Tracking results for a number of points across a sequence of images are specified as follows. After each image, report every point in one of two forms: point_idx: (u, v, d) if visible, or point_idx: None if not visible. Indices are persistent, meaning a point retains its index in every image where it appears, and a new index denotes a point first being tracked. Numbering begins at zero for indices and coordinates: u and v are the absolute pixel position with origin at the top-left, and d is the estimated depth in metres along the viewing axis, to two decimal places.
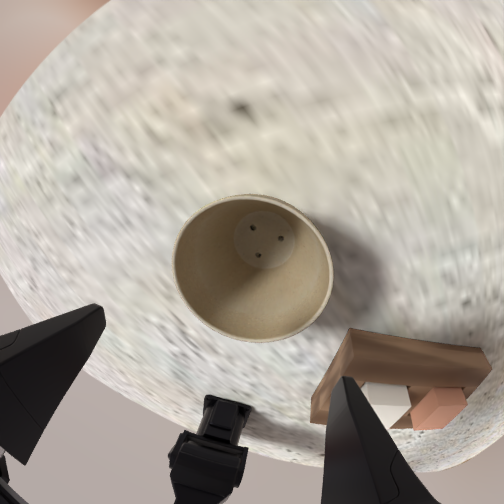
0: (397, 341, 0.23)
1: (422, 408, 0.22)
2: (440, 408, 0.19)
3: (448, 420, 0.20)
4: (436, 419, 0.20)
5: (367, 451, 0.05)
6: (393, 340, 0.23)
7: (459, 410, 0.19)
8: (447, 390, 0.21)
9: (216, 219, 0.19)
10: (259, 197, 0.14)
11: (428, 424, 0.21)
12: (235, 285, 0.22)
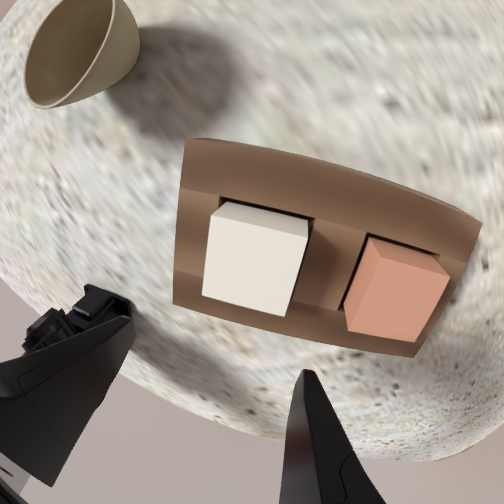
0: (281, 151, 0.17)
1: (358, 283, 0.16)
2: (387, 268, 0.13)
3: (420, 318, 0.14)
4: (390, 305, 0.14)
5: (316, 448, 0.05)
6: (275, 150, 0.17)
7: (436, 292, 0.13)
8: (401, 249, 0.15)
9: (72, 38, 0.13)
10: None
11: (376, 318, 0.14)
12: None
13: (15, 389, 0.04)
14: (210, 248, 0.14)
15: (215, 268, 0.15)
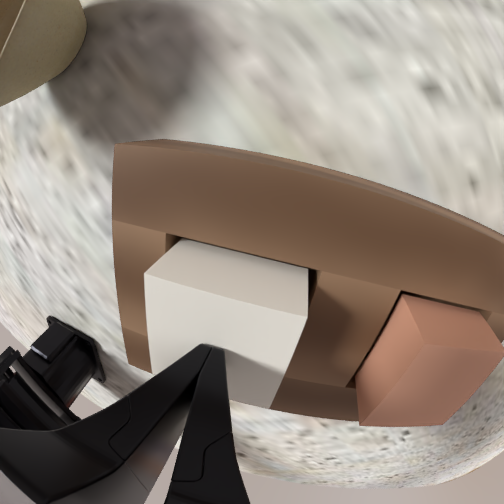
0: (268, 156, 0.11)
1: (380, 363, 0.09)
2: (431, 356, 0.07)
3: (457, 402, 0.08)
4: (423, 397, 0.08)
5: (189, 421, 0.05)
6: (259, 154, 0.11)
7: (485, 372, 0.07)
8: (446, 311, 0.09)
9: None
10: None
11: (401, 411, 0.08)
12: None
13: (111, 456, 0.04)
14: (151, 320, 0.09)
15: (163, 347, 0.09)
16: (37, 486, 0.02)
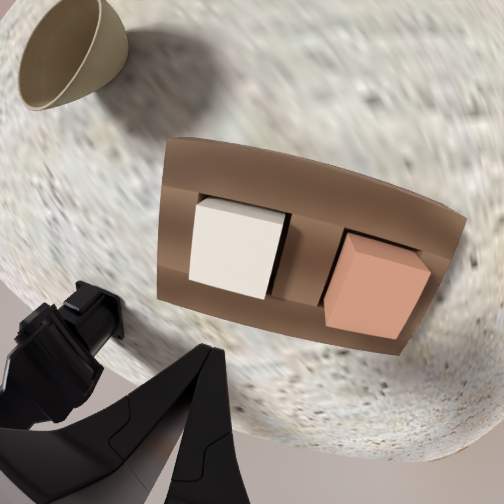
0: (261, 149, 0.17)
1: (336, 279, 0.16)
2: (363, 262, 0.13)
3: (400, 315, 0.14)
4: (368, 301, 0.14)
5: (189, 421, 0.05)
6: (255, 148, 0.18)
7: (417, 287, 0.13)
8: (381, 245, 0.15)
9: (64, 42, 0.13)
10: None
11: (354, 314, 0.15)
12: None
13: (111, 457, 0.04)
14: (195, 235, 0.16)
15: (200, 254, 0.16)
16: (37, 486, 0.02)
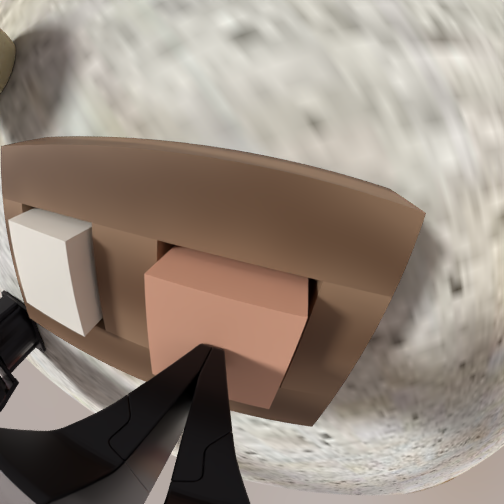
0: (94, 137, 0.11)
1: None
2: (161, 292, 0.08)
3: (263, 379, 0.09)
4: None
5: (189, 421, 0.05)
6: (90, 137, 0.11)
7: (282, 342, 0.08)
8: None
9: None
10: None
11: None
12: None
13: (111, 456, 0.04)
14: (15, 254, 0.10)
15: (23, 275, 0.10)
16: (37, 486, 0.02)
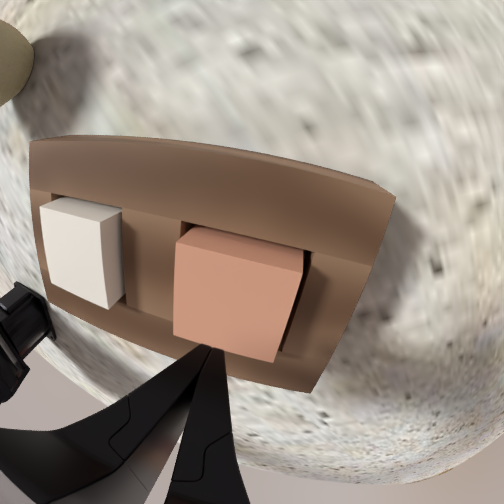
0: (118, 136, 0.14)
1: None
2: (189, 256, 0.10)
3: (268, 332, 0.11)
4: (213, 309, 0.11)
5: (189, 421, 0.05)
6: (115, 136, 0.14)
7: (283, 295, 0.10)
8: None
9: None
10: None
11: (201, 324, 0.12)
12: None
13: (111, 456, 0.04)
14: (44, 237, 0.12)
15: (51, 257, 0.12)
16: (37, 486, 0.02)
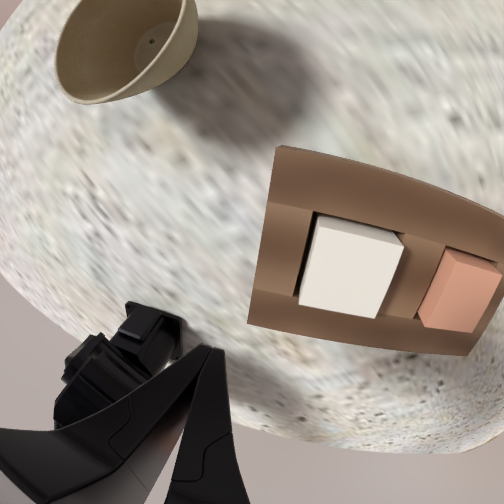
0: (362, 163, 0.16)
1: (431, 284, 0.15)
2: (460, 270, 0.13)
3: (478, 311, 0.14)
4: (458, 302, 0.14)
5: (189, 421, 0.05)
6: (356, 161, 0.16)
7: (492, 288, 0.13)
8: (463, 252, 0.14)
9: (110, 27, 0.12)
10: None
11: (447, 314, 0.14)
12: (123, 86, 0.15)
13: (111, 457, 0.04)
14: (314, 258, 0.14)
15: (317, 278, 0.15)
16: (37, 486, 0.02)
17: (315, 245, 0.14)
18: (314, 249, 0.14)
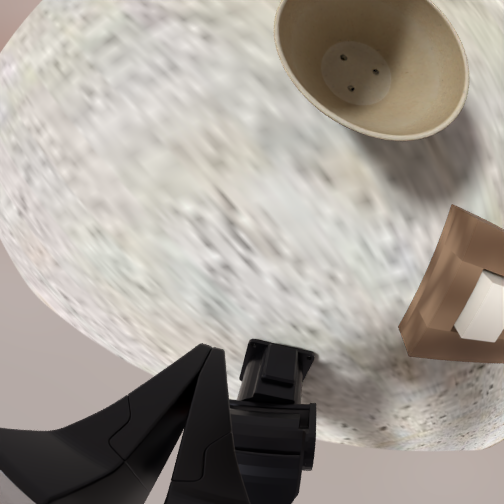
0: (497, 226, 0.15)
1: None
2: None
3: None
4: None
5: (189, 421, 0.05)
6: (493, 224, 0.15)
7: None
8: None
9: (313, 22, 0.11)
10: None
11: None
12: (333, 105, 0.14)
13: (111, 457, 0.04)
14: (482, 304, 0.14)
15: (478, 318, 0.14)
16: (37, 486, 0.02)
17: (486, 295, 0.13)
18: (484, 298, 0.14)
